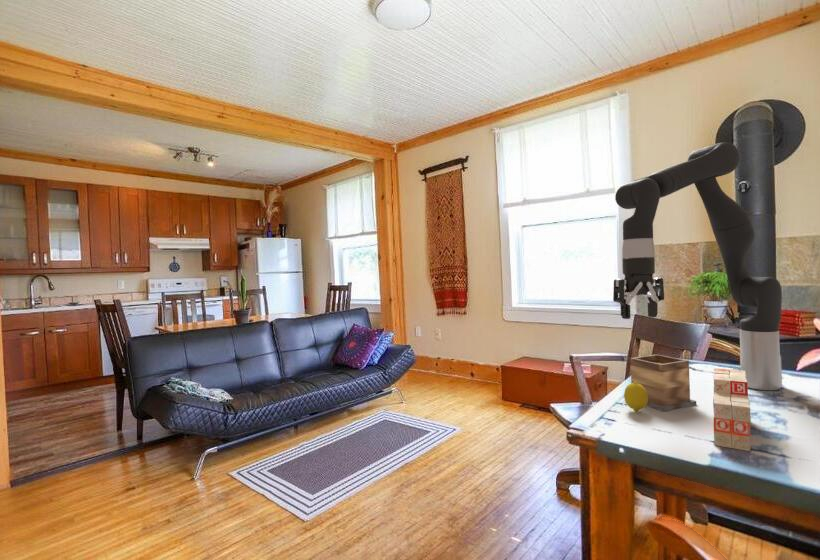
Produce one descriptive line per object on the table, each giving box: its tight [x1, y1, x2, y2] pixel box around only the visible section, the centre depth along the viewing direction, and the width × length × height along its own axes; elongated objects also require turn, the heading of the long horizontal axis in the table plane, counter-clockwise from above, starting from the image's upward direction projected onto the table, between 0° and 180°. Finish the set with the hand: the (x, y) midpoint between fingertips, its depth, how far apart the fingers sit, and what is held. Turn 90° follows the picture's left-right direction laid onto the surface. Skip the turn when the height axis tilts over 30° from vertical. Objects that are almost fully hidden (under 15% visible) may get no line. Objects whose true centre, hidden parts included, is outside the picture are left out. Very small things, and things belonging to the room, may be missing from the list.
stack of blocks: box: [712, 368, 752, 452], centre depth 96 cm, size 21×6×12 cm, turn 143°
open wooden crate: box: [629, 354, 698, 412], centre depth 118 cm, size 12×12×12 cm
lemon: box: [623, 382, 648, 413], centre depth 111 cm, size 6×6×8 cm
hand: (639, 317), depth 111 cm, fingers open, 8 cm apart
